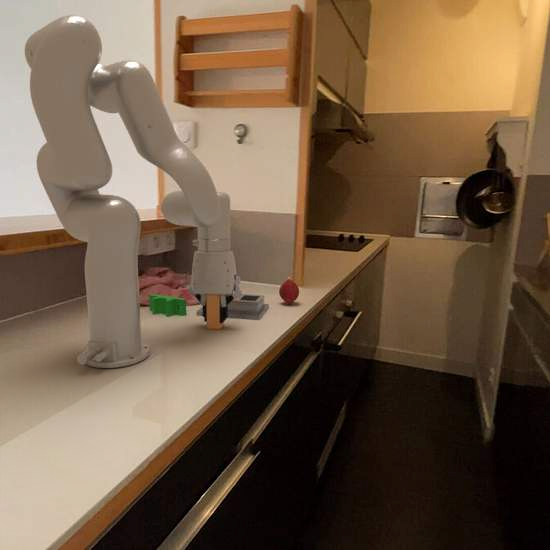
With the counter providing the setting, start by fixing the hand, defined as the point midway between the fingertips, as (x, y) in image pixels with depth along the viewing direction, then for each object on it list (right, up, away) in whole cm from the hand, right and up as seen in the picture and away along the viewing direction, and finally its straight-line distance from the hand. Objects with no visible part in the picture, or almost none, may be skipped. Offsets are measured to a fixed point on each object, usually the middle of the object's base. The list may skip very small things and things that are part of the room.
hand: (215, 320), depth 104 cm
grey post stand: (+4, +2, +18) cm, 19 cm away
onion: (+19, +2, +22) cm, 29 cm away
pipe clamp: (-15, 0, +11) cm, 18 cm away
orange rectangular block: (0, -2, 0) cm, 2 cm away
